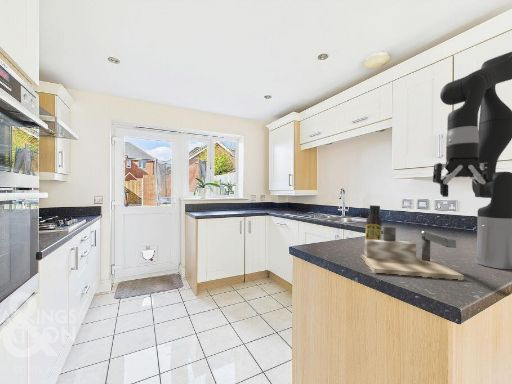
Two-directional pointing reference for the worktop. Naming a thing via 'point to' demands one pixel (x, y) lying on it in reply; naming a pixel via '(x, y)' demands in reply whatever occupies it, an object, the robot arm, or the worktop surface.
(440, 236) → the latch bar
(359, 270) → the worktop surface
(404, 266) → the door frame board
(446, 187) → the robot arm
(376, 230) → the sauce bottle
